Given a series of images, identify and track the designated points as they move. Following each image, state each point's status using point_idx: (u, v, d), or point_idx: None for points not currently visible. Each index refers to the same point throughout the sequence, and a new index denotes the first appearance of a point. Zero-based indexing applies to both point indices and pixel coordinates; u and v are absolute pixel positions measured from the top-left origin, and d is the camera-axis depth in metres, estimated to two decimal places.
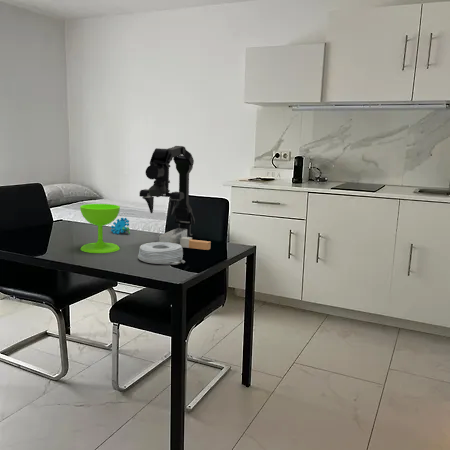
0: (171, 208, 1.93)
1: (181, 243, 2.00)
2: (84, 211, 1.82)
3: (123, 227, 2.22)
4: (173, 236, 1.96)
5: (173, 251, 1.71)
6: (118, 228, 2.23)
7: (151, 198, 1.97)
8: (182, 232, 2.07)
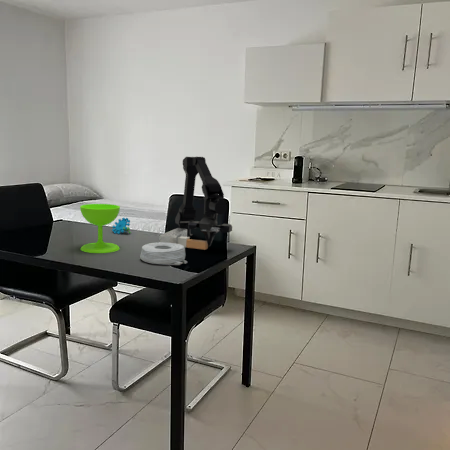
0: (210, 239, 1.97)
1: (178, 243, 2.01)
2: (84, 211, 1.82)
3: (124, 227, 2.22)
4: (173, 236, 1.96)
5: (175, 251, 1.71)
6: (119, 228, 2.23)
7: (208, 231, 1.99)
8: (182, 232, 2.07)
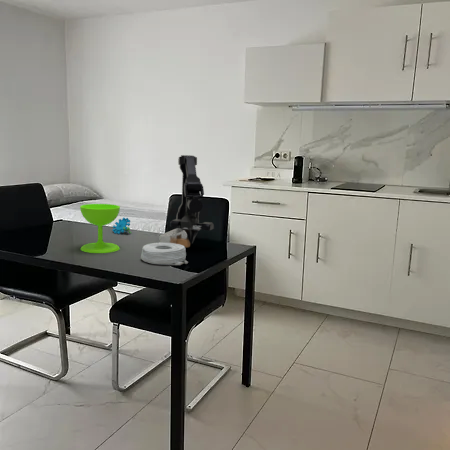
0: (192, 237, 2.00)
1: None
2: (84, 211, 1.82)
3: (124, 227, 2.22)
4: (173, 236, 1.96)
5: (176, 252, 1.70)
6: (119, 228, 2.23)
7: (190, 229, 2.01)
8: (182, 232, 2.07)
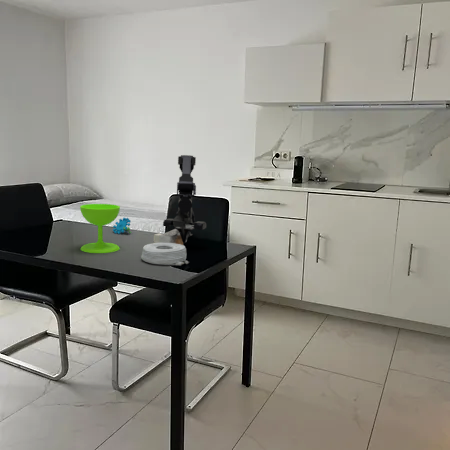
0: (185, 236, 2.00)
1: (154, 240, 2.05)
2: (84, 211, 1.82)
3: (124, 227, 2.22)
4: (173, 236, 1.96)
5: (176, 252, 1.70)
6: (119, 228, 2.23)
7: (183, 228, 2.02)
8: None
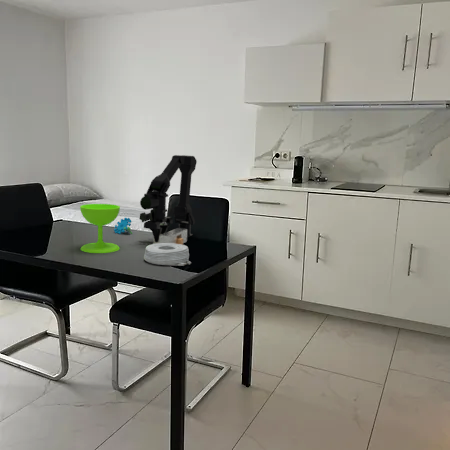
0: None
1: (154, 240, 2.04)
2: (84, 211, 1.82)
3: (125, 227, 2.22)
4: (173, 236, 1.96)
5: (179, 252, 1.70)
6: (120, 228, 2.24)
7: (162, 226, 2.07)
8: (182, 232, 2.07)
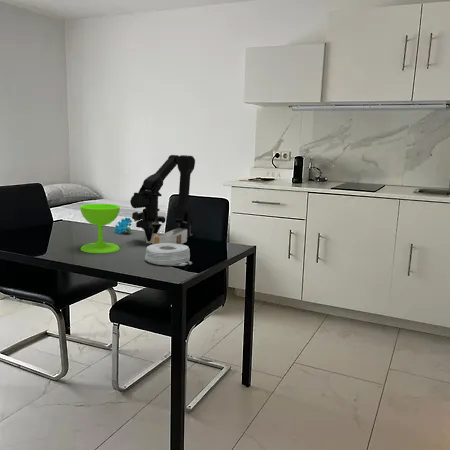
0: None
1: None
2: (84, 211, 1.82)
3: (125, 227, 2.22)
4: (173, 236, 1.96)
5: (180, 252, 1.70)
6: (120, 228, 2.24)
7: (154, 225, 2.08)
8: (182, 232, 2.07)
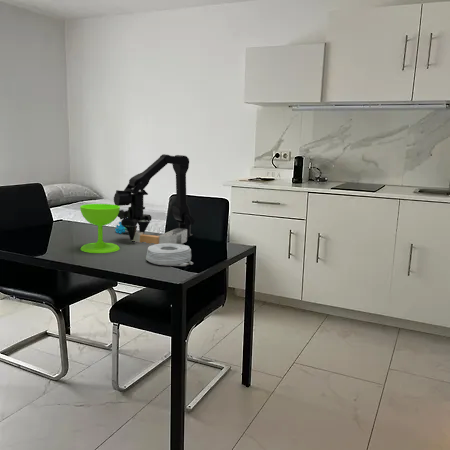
0: None
1: None
2: (84, 211, 1.82)
3: None
4: (173, 236, 1.96)
5: (181, 252, 1.69)
6: (121, 228, 2.24)
7: (142, 223, 2.12)
8: (182, 232, 2.07)
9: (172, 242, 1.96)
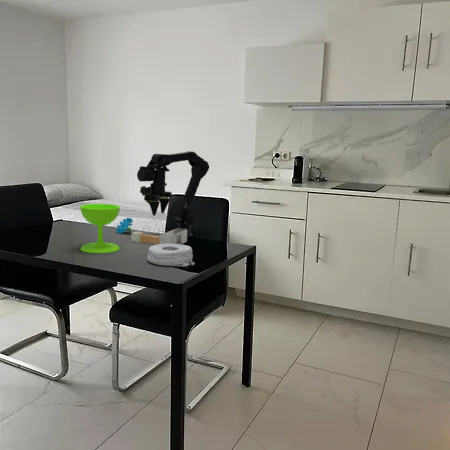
0: None
1: (132, 238, 2.07)
2: (84, 211, 1.82)
3: (126, 227, 2.23)
4: (173, 236, 1.96)
5: (183, 253, 1.69)
6: (121, 228, 2.24)
7: (164, 199, 2.16)
8: (182, 232, 2.07)
9: (172, 242, 1.96)
